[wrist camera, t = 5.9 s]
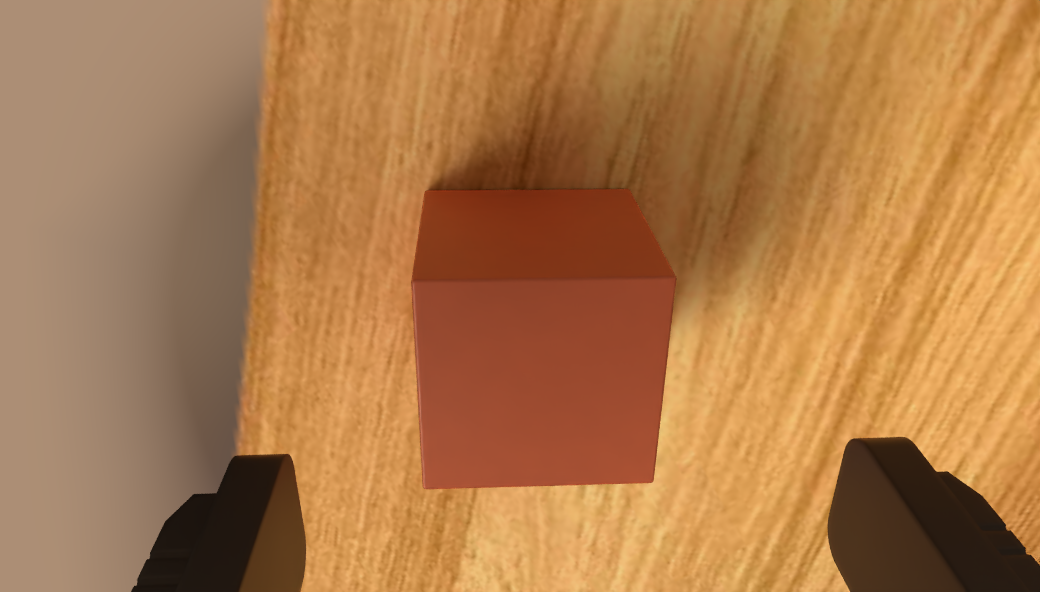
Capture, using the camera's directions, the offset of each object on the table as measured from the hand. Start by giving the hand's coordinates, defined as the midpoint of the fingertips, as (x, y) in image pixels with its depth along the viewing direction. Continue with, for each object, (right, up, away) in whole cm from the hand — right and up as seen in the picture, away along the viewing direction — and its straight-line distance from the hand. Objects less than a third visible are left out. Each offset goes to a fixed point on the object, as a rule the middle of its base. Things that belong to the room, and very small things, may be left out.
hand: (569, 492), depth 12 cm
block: (-1, +3, +7) cm, 8 cm away
